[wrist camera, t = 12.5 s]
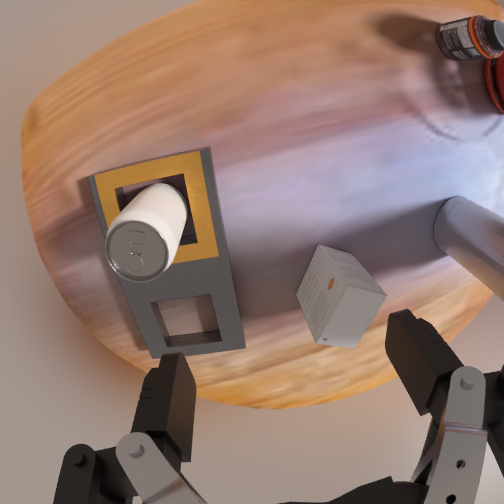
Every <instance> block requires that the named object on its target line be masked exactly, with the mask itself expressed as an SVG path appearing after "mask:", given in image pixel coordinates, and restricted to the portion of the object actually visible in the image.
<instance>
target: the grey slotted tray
mask: <svg viewBox="0 0 504 504" xmlns="http://www.w3.org/2000/svg"><path fill="white" fill-rule="evenodd" d="M182 173H184V178H185V183H186V188H187V193H188V198H189V203H190V208H191V212H192V217H193V222H194V227H195V231H196V235H190V236H184V237H181V239H180V242H179V245H178V248H177V252H176V255H175V257H174V260H173V261H172V263H171V265H170V266H169V267H168V268H167V269H166V270H165V271H164V272H163V273H162V274H161V275H160V276H159V277H158V278H156V279H154V280H152V281H149V282H144V283H137V282H132V281H128V280H126V279H124V278H122V277H121V276H119V275H118V274H117V275H118V278H119V281H120V284H121V286H122V289H123V291H124V294H125V297H126V299H127V302H128V304H129V307H130V309H131V311H132V314H133V316H134V319H135V321H136V323H137V326H138V328H139V330H140V333H141V335H142V337H143V339H144V341H145V344H146V346H147V348H148V350H149V352H150V354H151V356H152V359H158V358H161V356H162V355H163V354H169V353H178V352H182V353H183V354H184V356H190V355H199V354H207V353H215V352H223V351H230V350H237V349H244V348H246V344H245V336H244V331H243V326H242V321H241V316H240V311H239V306H238V300H237V295H236V290H235V285H234V280H233V274H232V269H231V264H230V258H229V253H228V247H227V242H226V236H225V231H224V225H223V220H222V214H221V208H220V202H219V197H218V191H217V185H216V179H215V173H214V167H213V161H212V155H211V149H210V147H207V148H201V149H196V150H190V151H185V152H180V153H175V154H170V155H166V156H161V157H157V158H152V159H148V160H144V161H140V162H135V163H131V164H127V165H124V166H120V167H116V168H112V169H109V170H105V171H101V172H98V173H95V174H93V175H91V176H89V177H88V180H89V184H90V188H91V192H92V196H93V200H94V203H95V207H96V210H97V214H98V217H99V221H100V224H101V228H102V231H103V234H104V237H105V240H106V238H107V232H108V229H109V227H110V225H111V223H112V222H113V220H114V219H115V218H116V217H117V216H118V215H119V214H120V212H121V211H122V210H123V209H124V208H125V207H126V206H127V203H126V199H125V195H124V191H123V186H127V185H131V184H135V183H140V182H144V181H149V180H153V179H158V178H163V177H167V176H172V175H177V174H182ZM206 294H210V295H211V299H212V303H213V307H214V311H215V315H216V318H217V322H218V326H219V330H216V331H209V332H201V333H194V334H185V335H177V336H169V334H168V331H167V329H166V326H165V323H164V321H163V318H162V315H161V313H160V310H159V307H158V304H157V301H164V300H171V299H178V298H185V297H192V296H199V295H206Z"/></svg>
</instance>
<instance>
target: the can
mask: <svg viewBox="0 0 504 504" xmlns="http://www.w3.org/2000/svg"><path fill="white" fill-rule="evenodd" d="M187 214H188V207H187V203H186V200H185V198H184V196H183V195H182V193H181V192H180V191H179V190H178V189H176V188H175V187H173V186H171V185H168V184H163V183H158V184H153V185H150V186H148V187H146V188H145V189H144V190H142V191H141V192H140V193H139V194H138V195H137V196H136V197H135V198H134V199H133V200H132V201H131V202H130V203H129V204H128V205H127V206H126V207H125V208H124V209H123V210H122V211H121V212H120V214H119V215H118V216H117V217H116V218H115V219H114V220H113V222H112V223H111V225H110V227H109V229H108V232H107V238H106V241H105V255H106V259H107V261H108V263H109V265H110V266H111V268H112V269H113V270H114V271H115V272H116V273H117V274H118V275H119V276H121V277H122V278H124V279H126V280H128V281H132V282H137V283H144V282H149V281H152V280H154V279H156V278H158V277H159V276H160V275H161V274H162V273H163V272H164V271H165V270H166V269H167V268H168V267H169V266H170V265H171V263H172V261H173V260H174V257H175V255H176V252H177V248H178V245H179V242H180V239H181V235H182V232H183V229H184V226H185V222H186V219H187Z"/></svg>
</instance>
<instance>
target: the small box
mask: <svg viewBox="0 0 504 504" xmlns="http://www.w3.org/2000/svg"><path fill="white" fill-rule="evenodd" d="M296 296H297V298H298V301H299V303H300V306H301V308H302V311H303V313H304V316H305V318H306V321H307V323H308V326H309V328H310V331H311V333H312V336H313V338H314V341H315V343H317V344H324V345H331V346H338V347H346V348H355V347H356V346H357V344H358V343H359V341H360V339H361V338H362V336H363V335H364V333H365V331H366V330H367V328H368V326H369V325H370V323H371V322H372V320H373V318H374V317H375V315H376V313H377V311H378V310H379V308H380V306H381V304H382V303H383V301H384V299H385V298H386V296H387V295H386V293H385V292H384V291H383V290H382V289H381V287H380V286H379V285H378V284H377V283H376V281H375V280H374V279H373V278H372V277H371V275H370V274H369V273H368V272H367V271H366V270H365V268H364V267H363V266H362V265H361V264H360V263H359V262H358V260H357V259H356V258H355V257H354V256H353V255H352V254H349V253H346V252H343V251H340V250H336V249H333V248H330V247H327V246H323V245H320V244H318V246H317V248H316V251H315V253H314V255H313V257H312V260H311V262H310V264H309V267H308V269H307V271H306V273H305V275H304V278H303V280H302V282H301V284H300V287H299V289H298V291H297V293H296Z"/></svg>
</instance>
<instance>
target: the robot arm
mask: <svg viewBox="0 0 504 504" xmlns="http://www.w3.org/2000/svg"><path fill="white" fill-rule="evenodd" d="M434 239H435V242H436V244H437V246H438V247H439V248H440V249H441V250H443V251H444V252H445V253H447V254H448V255H449V256H450V257H452V258H453V259H454V260H455V261H457V262H458V263H459V264H460V265H462V266H463V267H464V268H465V269H467V270H468V271H469V272H470V273H472V274H473V275H474V276H475V277H476V278H478V279H479V280H480V281H481V282H482V283H483V284H485V285H486V286H487V287H488V288H489V289H490V290H492V291H493V292H494V293H495V294H496V295H498V296H499V297H500V298H501V299H502V300H503V301H504V218H503V217H501V216H500V215H498V214H496V213H494V212H492V211H490V210H488V209H486V208H484V207H483V206H481V205H479V204H477V203H475V202H473V201H471V200H468V199H466V198H464V197H461V196H456V197H453V198H451V199H449V200H448V201H447V202H446V203H445V204H444V205H443V206H442V208H441V209H440V211H439V213H438V215H437V217H436V220H435V224H434ZM385 349H386V353H387V356H388V358H389V359H390V361H391V363H392V365H393V366H394V368H395V370H396V372H397V374H398V375H399V377H400V379H401V381H402V383H403V384H404V386H405V388H406V390H407V392H408V394H409V395H410V397H411V399H412V401H413V403H414V405H415V407H416V409H417V411H418V413H419V414H420V416H422V415H425V414H427V413H429V412H430V413H431V415H432V419H431V422H430V426H429V430H428V433H427V437H426V441H425V444H424V447H423V451H422V454H421V457H420V460H419V463H418V465H417V467H416V469H415V471H414V473H413V475H412V477H411V480H410V482H406V481H401V482H400V481H398V482H393V480H392V477H391V476H389V477H386V478H384V479H381V480H378V481H375V482H372V483H368V484H365V485H363V486H360V487H357V488H356V489H354V490H352V491H350V492H348V493H346V494H344V495H342V496H340V497H338V498H336V499H334V500H332V501H329V502H324V503H307V502H286V503H280V504H474V501H475V497H476V494H477V490H478V486H479V481H480V476H481V472H482V467H483V462H484V455H485V450H486V443H487V442H488V443H489V446H490V448H491V450H492V452H493V454H494V456H495V459H496V461H497V463H498V465H499V468H500V470H501V472H502V474H503V477H504V365H503V367H502V369H501V371H497V372H491V373H484V374H482V372H481V371H480V370H478V369H476V368H474V367H470V366H464V365H463V364H462V363H461V361H460V360H459V359H458V357H457V356H456V355H455V353H454V352H453V351H452V349H451V348H450V347H449V346H448V344H447V343H446V342H445V341H444V340H443V338H442V337H441V335H440V334H438V332H437V330H436V329H435V328H434V327H433V325H432V324H430V323H429V322H427V321H425V320H424V319H422V318H419V319H416V317H415V316H414V315H413V314H412V312H411V311H410V310H409V309H405V310H401V311H398V312H394V313H391V314H390V315H389V318H388V325H387V333H386V340H385ZM195 401H196V384H195V380H194V377H193V375H192V373H191V370H190V368H189V366H188V363H187V361H186V359H185V356H184V354H183V353H182V352H178V353H169V354H163V355H162V356H161V360H160V364H159V368H152V369H151V370H150V371H149V373H148V374H147V376H146V377H145V378H144V382H143V386H142V391H141V393H140V400H139V401H138V405H137V409H136V413H135V417H134V421H133V425H132V429H131V433H130V434H127V435H125V436H124V437H123V438H122V439H121V440H120V441H119V442H118V444H117V446H115V447H112V448H107V449H103V450H98V451H94V450H93V449H92V448H91V447H90V446H88V445H86V444H77V445H74V446H72V447H71V448H70V449H68V451H67V452H66V454H65V456H64V459H63V463H62V467H61V471H60V475H59V479H58V483H57V488H56V492H55V497H54V502H53V504H132V500H133V497H134V496H140V497H141V499H142V501H143V503H142V504H208V503H207V502H206V501H205V500H204V499H203V498H202V497H201V495H200V494H199V493H198V492H197V491H196V490H195V489H194V487H193V486H192V485H191V484H190V483H189V481H188V480H187V479H186V478H185V476H184V475H183V474H182V473H181V472H180V469H181V462H191V450H192V437H193V423H194V412H195Z"/></svg>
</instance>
